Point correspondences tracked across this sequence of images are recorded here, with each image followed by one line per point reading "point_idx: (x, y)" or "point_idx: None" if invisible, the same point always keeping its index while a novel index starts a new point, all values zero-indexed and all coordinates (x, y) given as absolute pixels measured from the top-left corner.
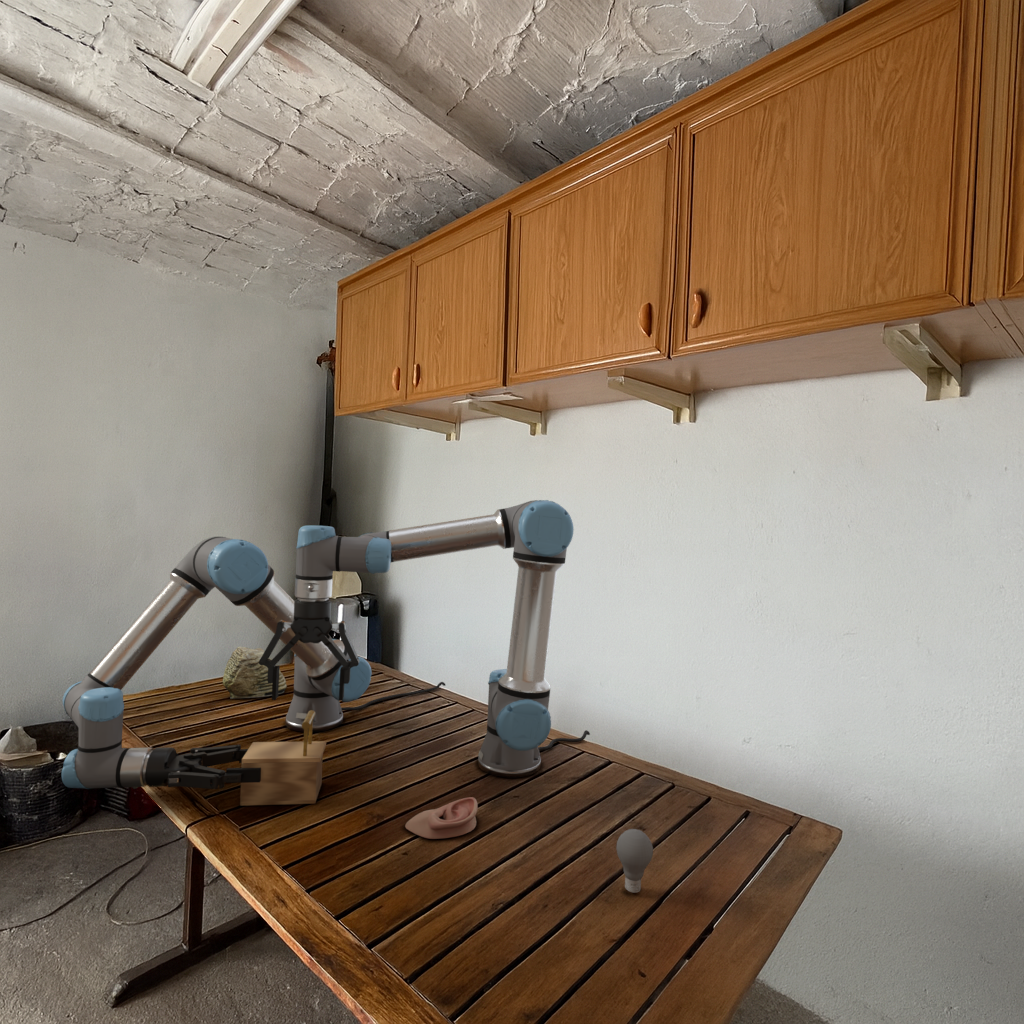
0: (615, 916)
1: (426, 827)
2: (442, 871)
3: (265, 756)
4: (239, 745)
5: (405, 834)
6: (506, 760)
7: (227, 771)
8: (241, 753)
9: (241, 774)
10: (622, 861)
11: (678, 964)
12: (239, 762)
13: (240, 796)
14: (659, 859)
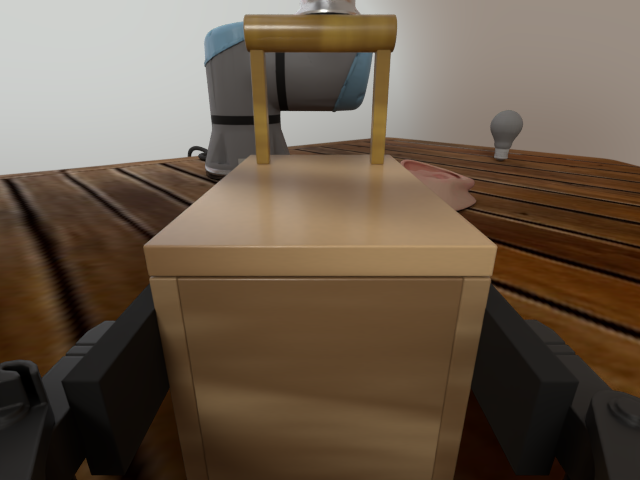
0: (539, 165)
1: (463, 193)
2: (543, 199)
3: (412, 200)
4: (3, 371)
5: (469, 213)
6: (285, 152)
7: (565, 386)
8: (118, 388)
9: (526, 322)
10: (516, 133)
11: (575, 160)
12: (126, 466)
13: (455, 462)
14: (446, 155)
